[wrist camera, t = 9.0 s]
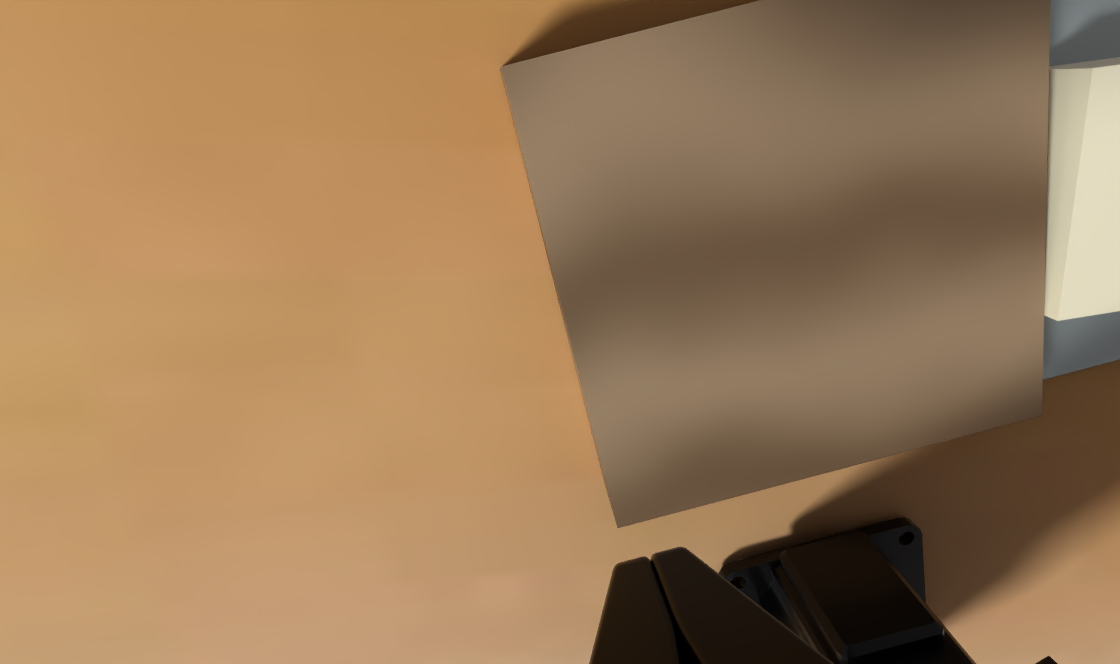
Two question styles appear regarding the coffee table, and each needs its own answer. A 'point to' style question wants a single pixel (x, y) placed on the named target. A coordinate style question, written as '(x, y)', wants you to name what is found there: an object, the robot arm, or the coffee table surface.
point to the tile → (1083, 190)
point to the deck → (793, 235)
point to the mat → (1075, 36)
